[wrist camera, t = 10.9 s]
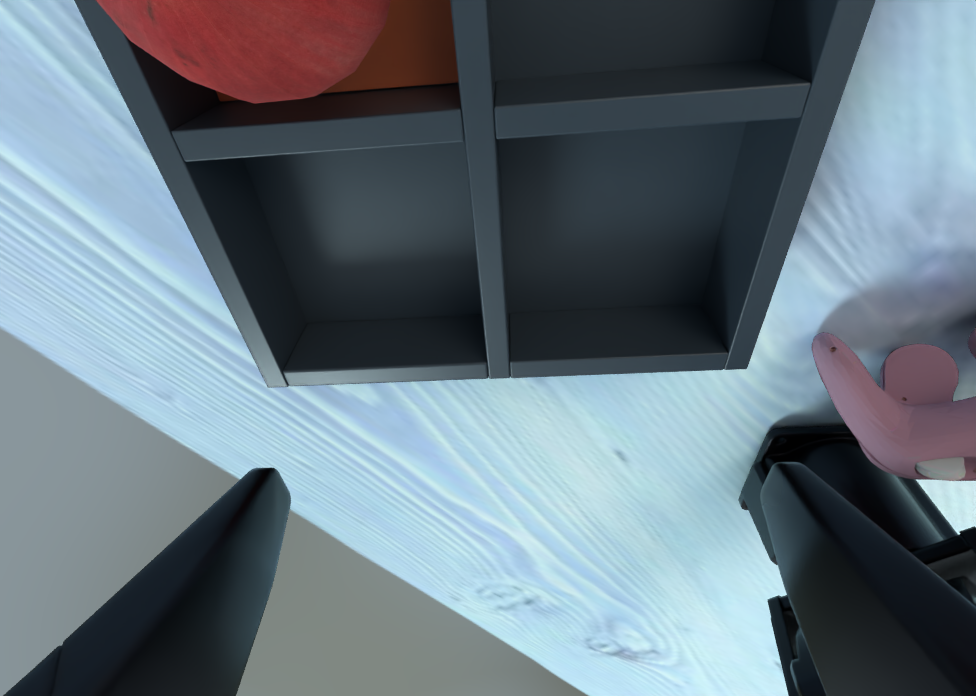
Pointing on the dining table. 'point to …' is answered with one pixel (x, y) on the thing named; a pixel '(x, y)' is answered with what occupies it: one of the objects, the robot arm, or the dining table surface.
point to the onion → (255, 41)
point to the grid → (508, 185)
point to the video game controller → (904, 409)
